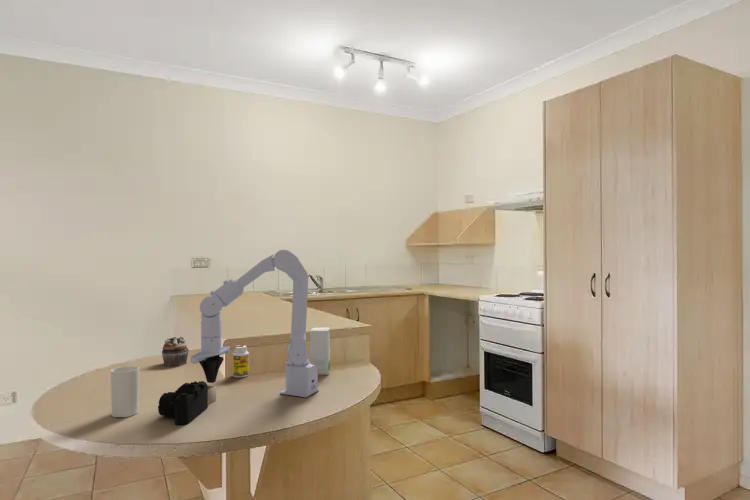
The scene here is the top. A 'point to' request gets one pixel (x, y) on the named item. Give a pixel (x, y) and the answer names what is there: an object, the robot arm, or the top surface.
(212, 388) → the walnut block
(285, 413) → the top surface
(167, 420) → the top surface
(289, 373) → the robot arm
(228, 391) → the top surface
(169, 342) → the cupcake
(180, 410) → the film camera
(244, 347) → the supplement bottle
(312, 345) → the skincare box
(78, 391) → the top surface
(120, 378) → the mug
